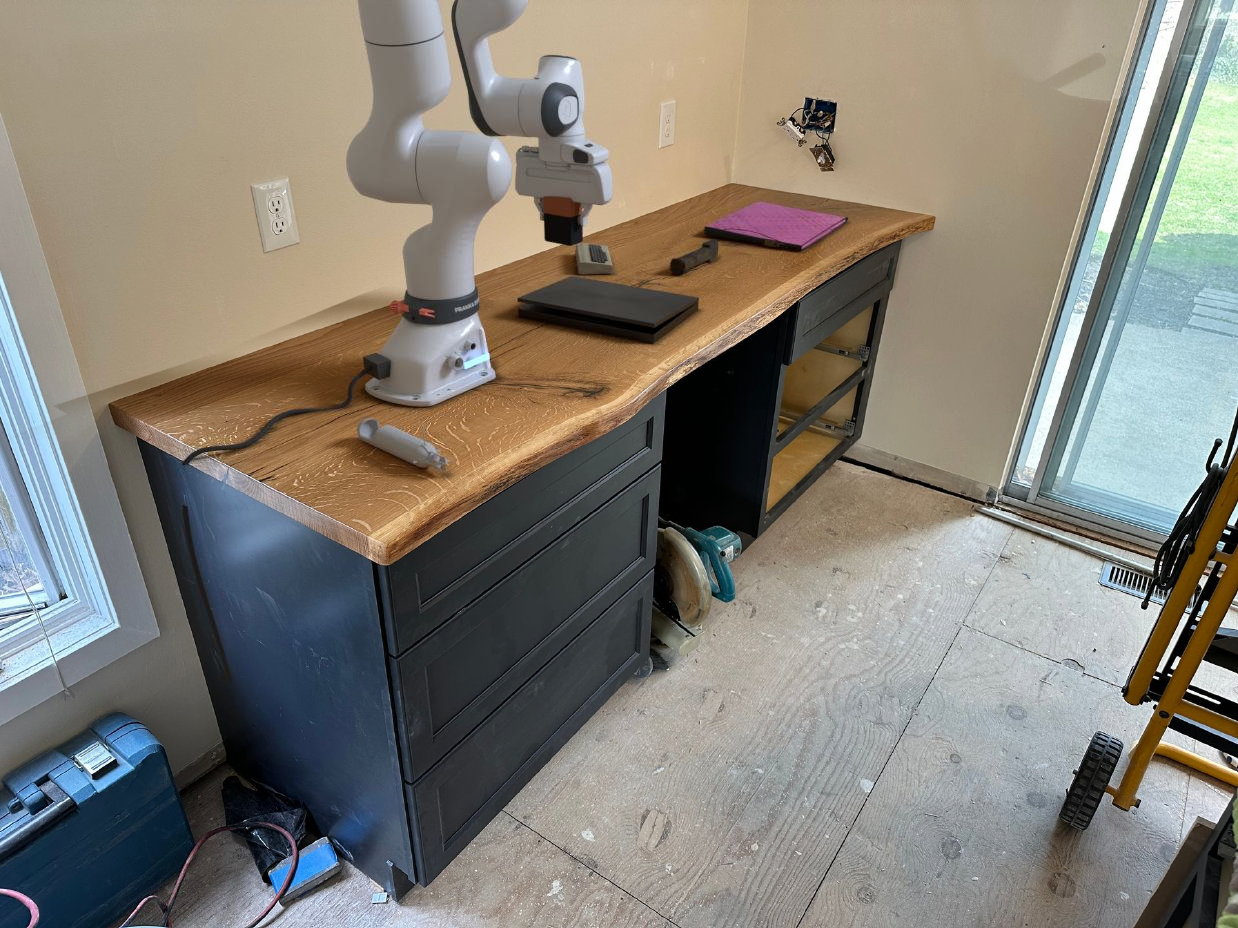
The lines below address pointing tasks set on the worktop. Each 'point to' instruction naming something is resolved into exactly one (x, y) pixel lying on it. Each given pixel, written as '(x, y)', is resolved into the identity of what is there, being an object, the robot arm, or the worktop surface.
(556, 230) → the battery
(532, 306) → the laptop
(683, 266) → the hand tool
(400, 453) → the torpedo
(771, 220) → the laptop bag
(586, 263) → the computer
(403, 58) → the robot arm
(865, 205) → the worktop surface
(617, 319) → the laptop screen
